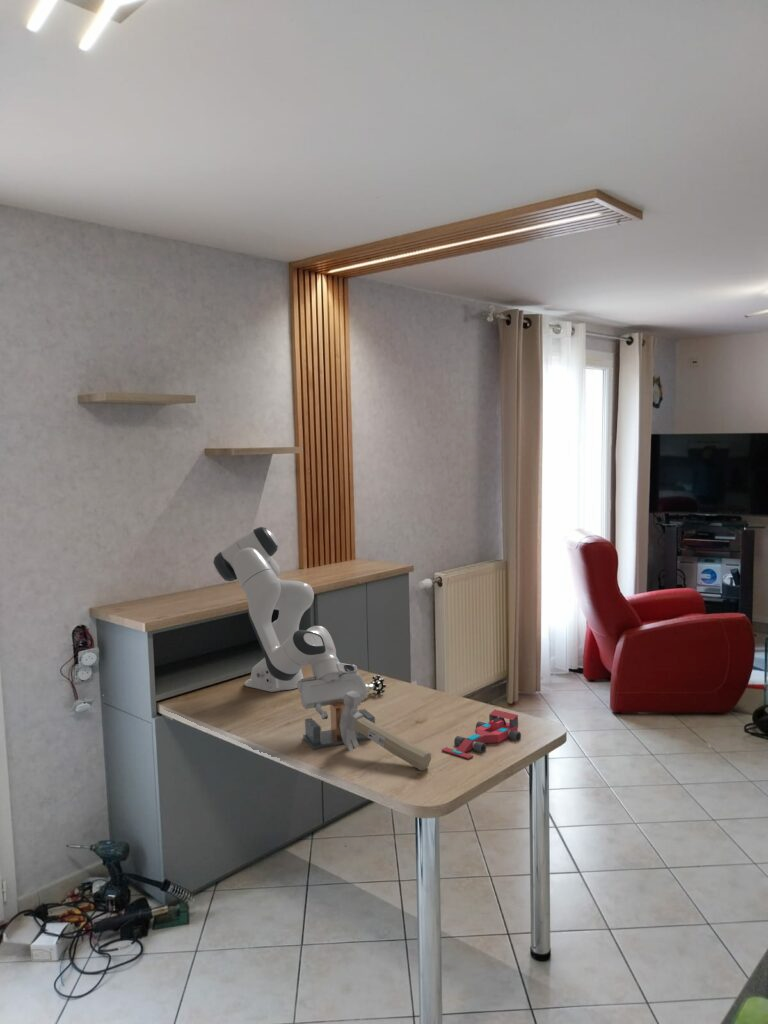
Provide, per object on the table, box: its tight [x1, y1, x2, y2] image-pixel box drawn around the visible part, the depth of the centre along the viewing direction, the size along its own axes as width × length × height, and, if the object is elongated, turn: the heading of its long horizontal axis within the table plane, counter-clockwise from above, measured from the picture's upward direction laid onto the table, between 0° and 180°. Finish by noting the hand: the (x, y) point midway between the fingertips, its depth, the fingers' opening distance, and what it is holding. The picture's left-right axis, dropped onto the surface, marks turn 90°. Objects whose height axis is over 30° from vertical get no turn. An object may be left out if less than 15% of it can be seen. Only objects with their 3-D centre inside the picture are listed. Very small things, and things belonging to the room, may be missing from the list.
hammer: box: [339, 691, 432, 771], centre depth 211 cm, size 16×5×30 cm
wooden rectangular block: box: [329, 701, 345, 738], centre depth 227 cm, size 5×4×9 cm
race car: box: [441, 709, 522, 760], centre depth 220 cm, size 14×6×25 cm
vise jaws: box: [302, 708, 376, 750], centre depth 227 cm, size 10×20×6 cm, turn 113°
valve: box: [361, 674, 387, 702], centre depth 264 cm, size 7×7×12 cm
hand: (340, 715), depth 226 cm, fingers open, 8 cm apart
